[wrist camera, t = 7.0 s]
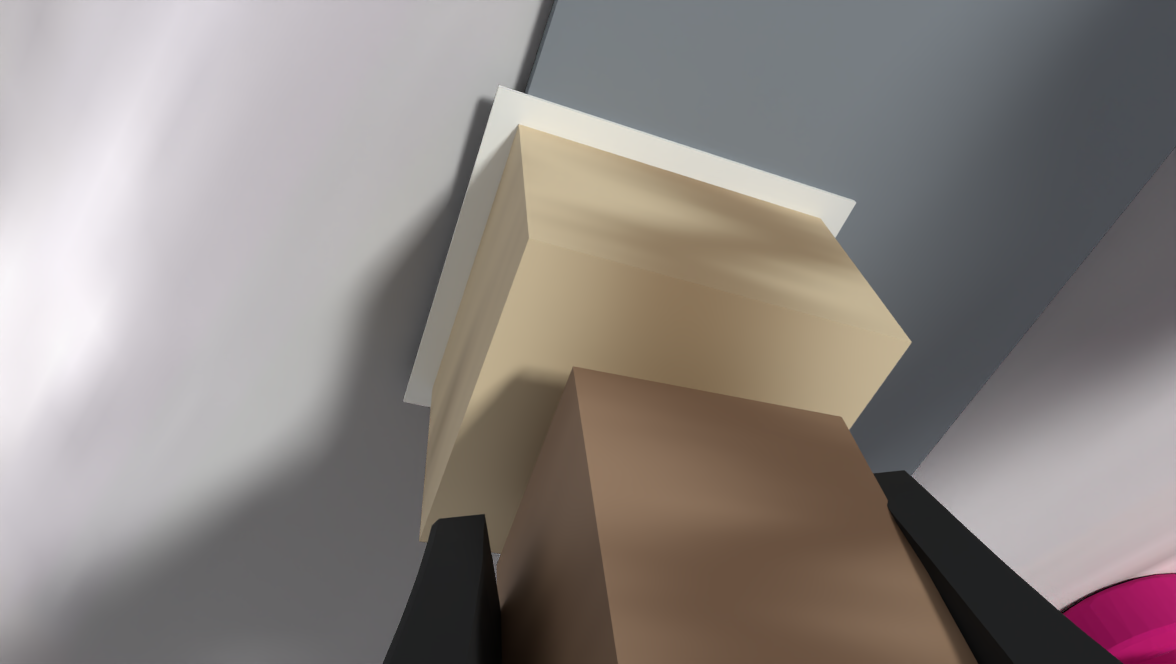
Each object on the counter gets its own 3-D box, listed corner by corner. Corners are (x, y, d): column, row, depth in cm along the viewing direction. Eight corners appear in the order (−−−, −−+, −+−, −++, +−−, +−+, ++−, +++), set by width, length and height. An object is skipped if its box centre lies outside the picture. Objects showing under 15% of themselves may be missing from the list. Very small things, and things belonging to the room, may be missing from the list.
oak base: (820, 218, 15) (911, 342, 12) (690, 442, 18) (734, 589, 15) (518, 123, 13) (528, 238, 10) (432, 388, 16) (418, 541, 13)
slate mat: (1312, -53, 14) (1337, -47, 13) (886, 486, 21) (894, 500, 20) (644, -410, 10) (652, -417, 10) (405, 386, 17) (402, 401, 17)
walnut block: (841, 416, 11) (1015, 729, 8) (728, 592, 13) (822, 903, 10) (572, 366, 10) (623, 702, 7) (496, 565, 12) (502, 902, 9)
